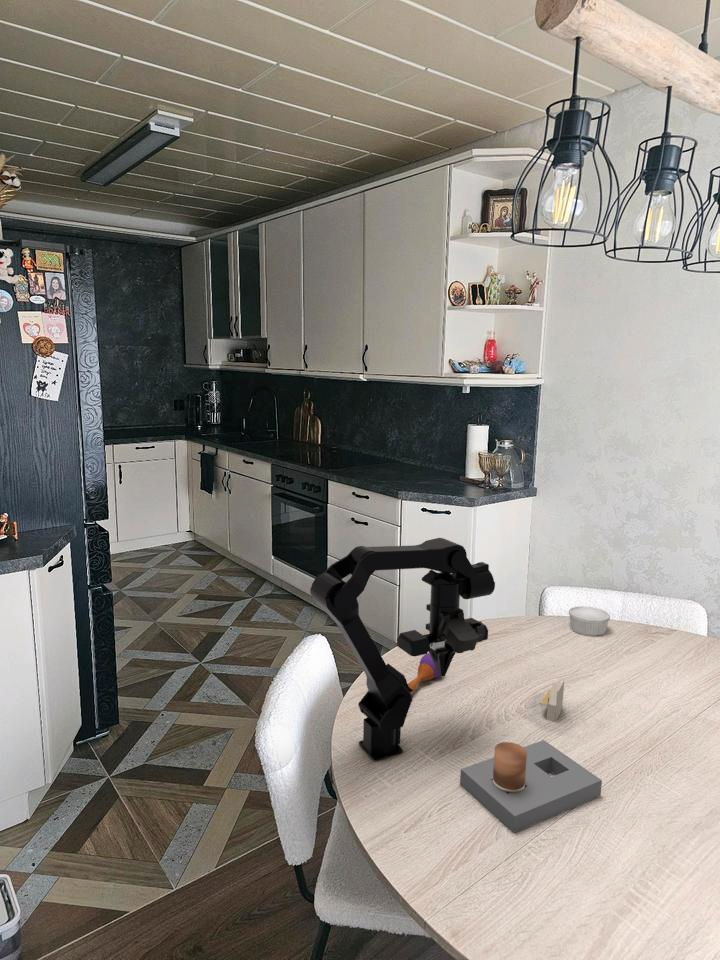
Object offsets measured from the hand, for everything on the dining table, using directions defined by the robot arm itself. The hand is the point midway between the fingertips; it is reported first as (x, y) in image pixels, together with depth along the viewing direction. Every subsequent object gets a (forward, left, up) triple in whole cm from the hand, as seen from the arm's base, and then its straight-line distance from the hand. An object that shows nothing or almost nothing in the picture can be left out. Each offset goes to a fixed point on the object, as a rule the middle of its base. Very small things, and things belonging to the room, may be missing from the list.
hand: (441, 676), depth 133 cm
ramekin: (+69, +23, -12) cm, 74 cm away
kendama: (+6, +17, -12) cm, 22 cm away
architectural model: (+26, -6, -13) cm, 30 cm away
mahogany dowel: (-2, -23, -12) cm, 26 cm away
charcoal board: (+3, -23, -12) cm, 26 cm away
